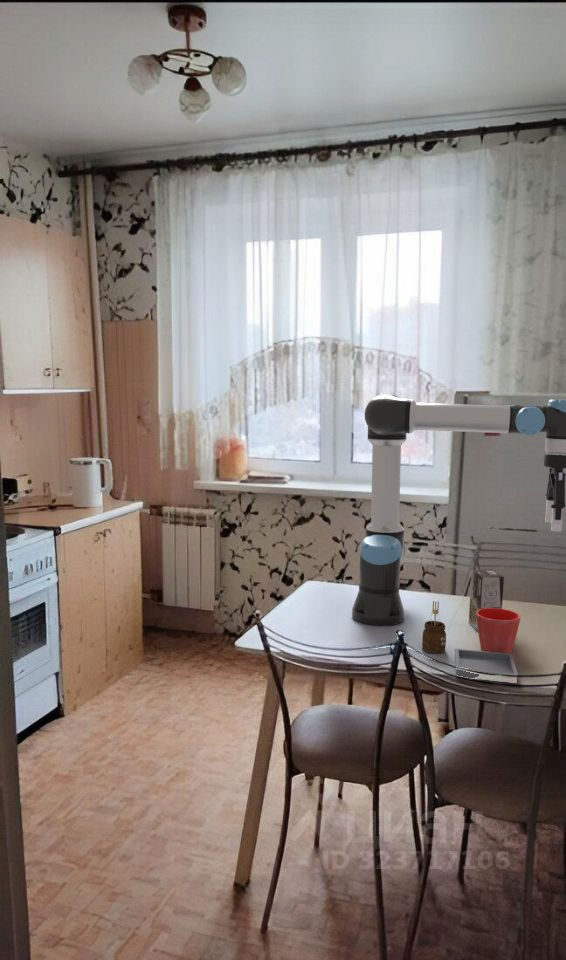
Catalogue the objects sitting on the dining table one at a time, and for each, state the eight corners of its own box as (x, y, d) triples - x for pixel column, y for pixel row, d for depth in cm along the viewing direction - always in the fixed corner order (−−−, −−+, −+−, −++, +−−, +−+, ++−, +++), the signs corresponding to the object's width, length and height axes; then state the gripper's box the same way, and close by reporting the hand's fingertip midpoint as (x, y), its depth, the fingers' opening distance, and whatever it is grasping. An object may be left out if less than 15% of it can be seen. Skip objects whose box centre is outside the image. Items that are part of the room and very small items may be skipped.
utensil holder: (421, 653, 177) (423, 607, 175) (422, 644, 183) (424, 600, 181) (445, 655, 175) (447, 609, 174) (445, 646, 181) (447, 602, 180)
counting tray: (456, 677, 162) (456, 669, 161) (454, 656, 175) (455, 648, 175) (517, 684, 159) (518, 675, 159) (511, 661, 172) (511, 653, 172)
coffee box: (501, 633, 192) (505, 576, 190) (478, 633, 192) (482, 576, 190) (489, 622, 201) (492, 568, 199) (467, 622, 201) (470, 568, 199)
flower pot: (470, 641, 186) (472, 606, 184) (513, 643, 185) (515, 608, 183) (477, 656, 175) (480, 619, 174) (522, 658, 174) (525, 621, 173)
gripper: (580, 458, 186) (573, 535, 189) (565, 450, 210) (560, 519, 213) (550, 456, 188) (544, 533, 191) (539, 449, 212) (534, 518, 215)
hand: (553, 526), depth 202 cm, fingers open, 13 cm apart
